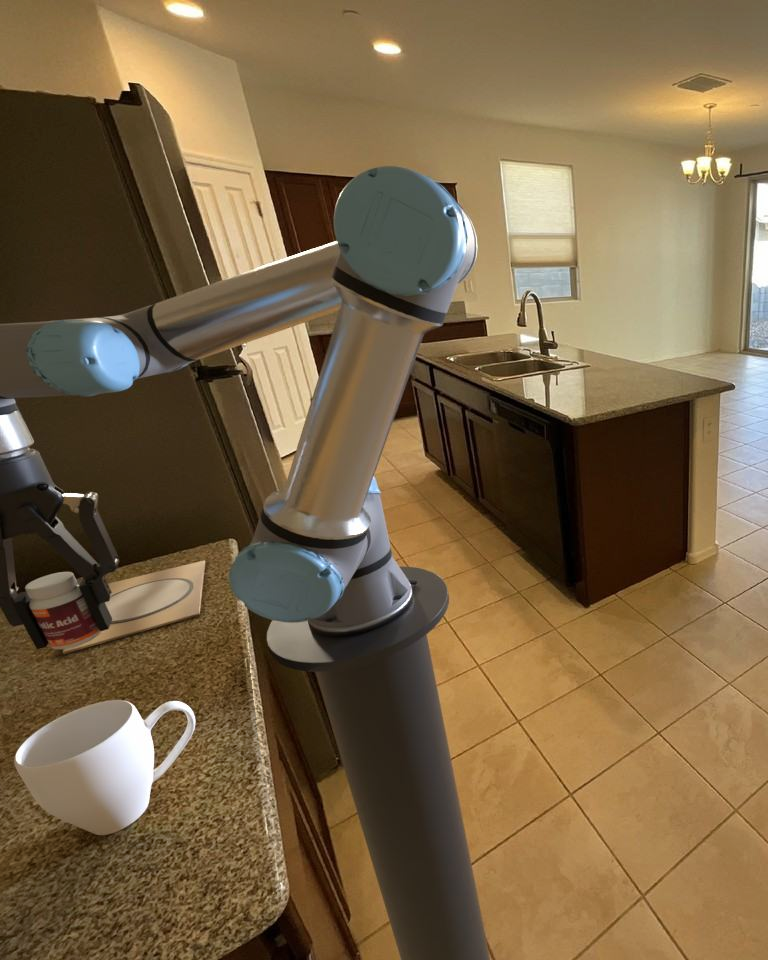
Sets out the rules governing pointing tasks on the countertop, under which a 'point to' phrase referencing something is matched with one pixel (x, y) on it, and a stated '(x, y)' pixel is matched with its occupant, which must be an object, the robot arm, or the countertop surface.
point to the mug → (97, 764)
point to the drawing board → (151, 602)
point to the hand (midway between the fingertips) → (76, 633)
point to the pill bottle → (61, 610)
